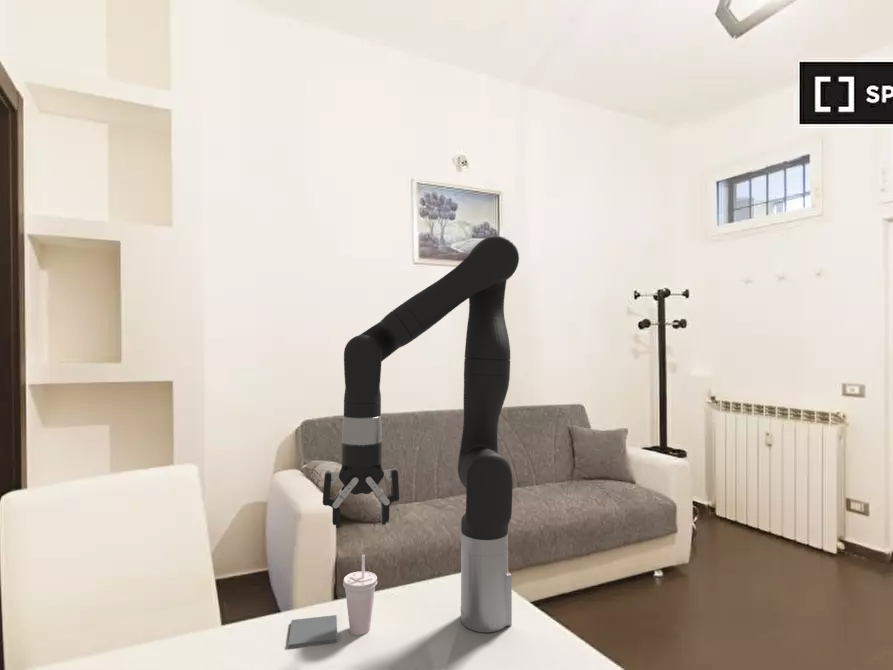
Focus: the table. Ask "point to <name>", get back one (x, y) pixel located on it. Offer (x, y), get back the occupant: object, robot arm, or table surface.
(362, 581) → the smoothie
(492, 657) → the table surface
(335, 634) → the coaster
